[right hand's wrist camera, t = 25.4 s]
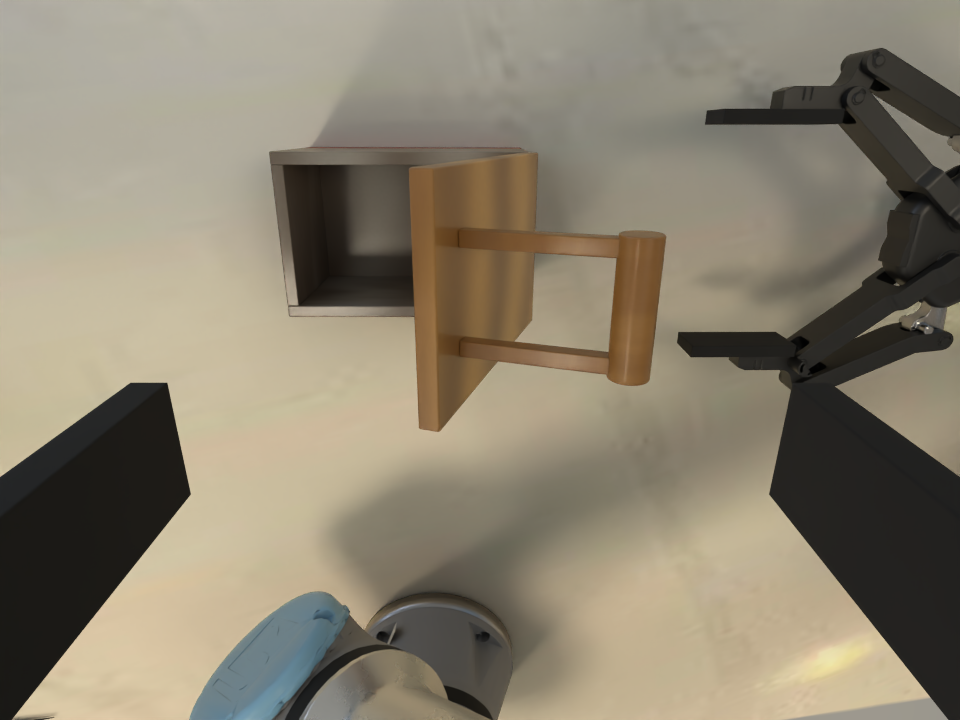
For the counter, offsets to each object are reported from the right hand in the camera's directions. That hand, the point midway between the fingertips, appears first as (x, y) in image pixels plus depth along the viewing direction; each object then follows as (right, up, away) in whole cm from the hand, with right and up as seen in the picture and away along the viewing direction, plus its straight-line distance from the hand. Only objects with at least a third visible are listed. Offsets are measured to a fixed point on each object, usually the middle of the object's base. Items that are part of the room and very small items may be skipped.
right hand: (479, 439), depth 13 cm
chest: (-5, +12, +31) cm, 34 cm away
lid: (0, +6, +16) cm, 17 cm away
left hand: (+13, +9, +23) cm, 28 cm away
